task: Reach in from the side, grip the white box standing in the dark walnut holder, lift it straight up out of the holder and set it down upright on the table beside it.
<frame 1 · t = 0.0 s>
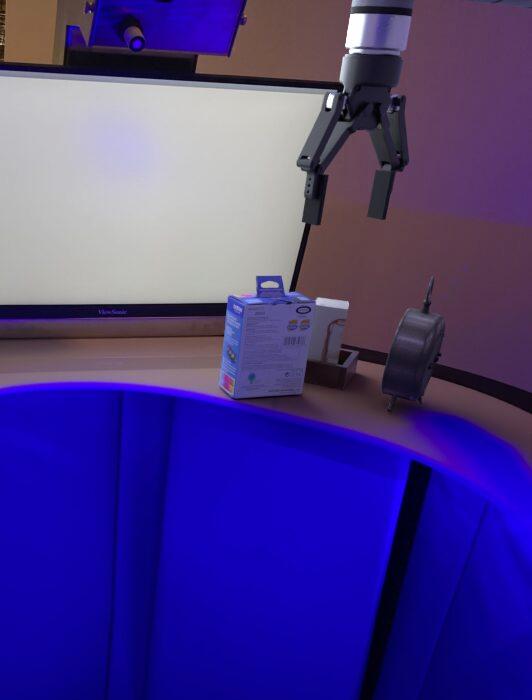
hand: (344, 221, 118), 19 cm above the table, tool pointing down, fingers open, 13 cm apart
white box: (318, 376, 116), resting in holder
ink cartridge box: (259, 391, 109), on the table
holder: (319, 374, 116), on the table
alarm clock: (404, 406, 107), on the table
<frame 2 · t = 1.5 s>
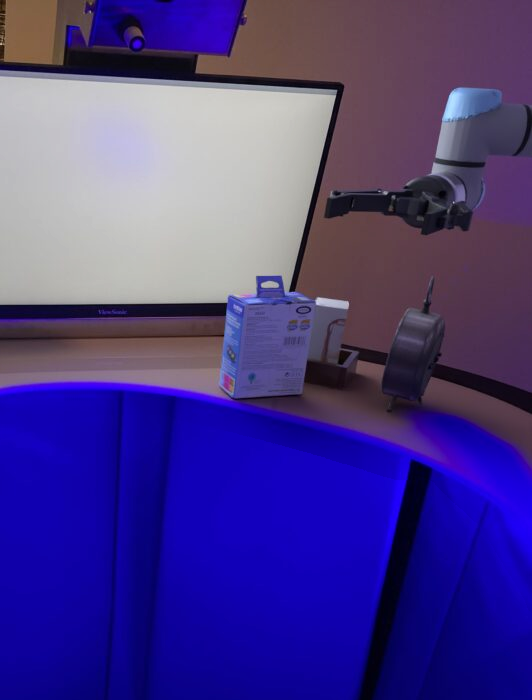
hand: (375, 216, 113), 20 cm above the table, tool horizontal, fingers open, 13 cm apart
nothing on the table moved.
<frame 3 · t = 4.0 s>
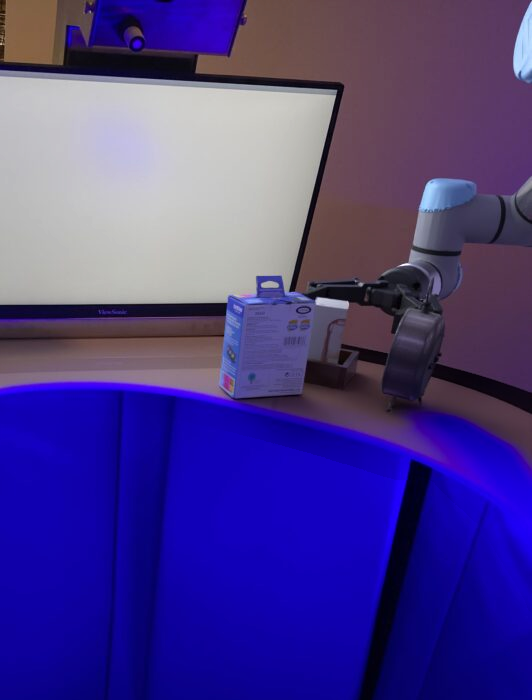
hand: (347, 313, 117), 8 cm above the table, tool horizontal, fingers open, 13 cm apart
nothing on the table moved.
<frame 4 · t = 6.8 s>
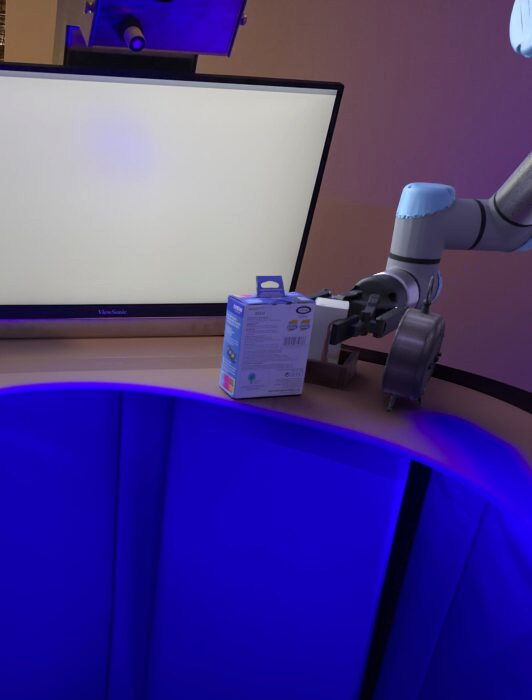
hand: (310, 328, 109), 7 cm above the table, tool horizontal, fingers closed on white box, 6 cm apart
white box: (318, 375, 116), resting in holder, touching gripper
everything else where it was.
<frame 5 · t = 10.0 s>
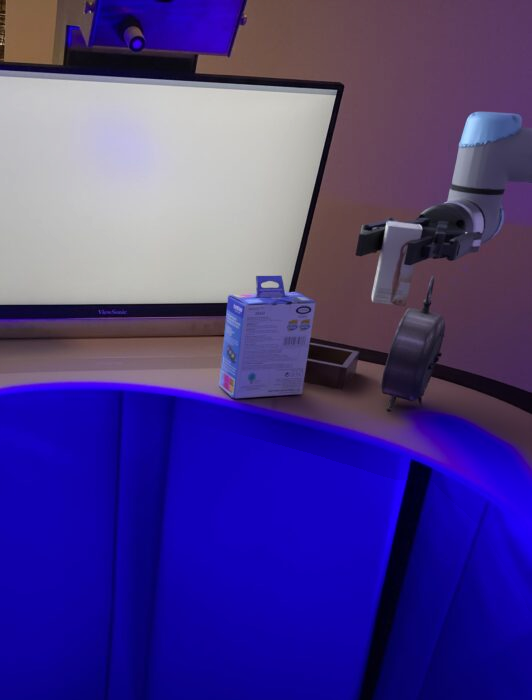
hand: (384, 249, 106), 18 cm above the table, tool horizontal, fingers closed on white box, 6 cm apart
white box: (388, 302, 113), point 10 cm above the table, touching gripper
everything else where it was.
when the fingers open (7 cm above the table, at t = 13.3 s): white box stays where it is, on the table.
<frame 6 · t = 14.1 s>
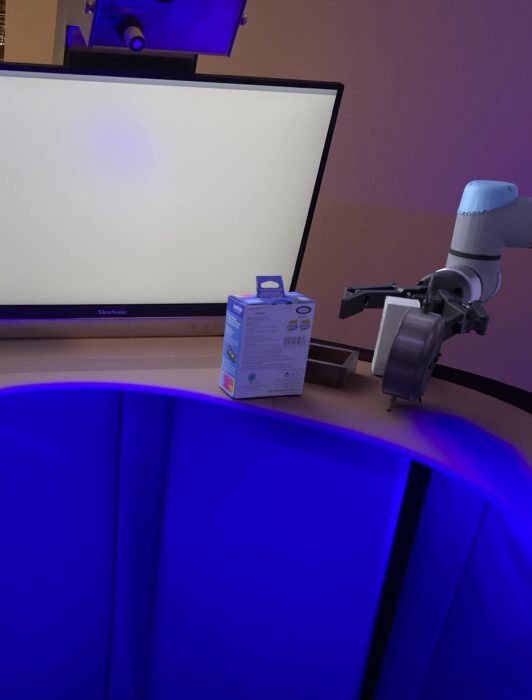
hand: (390, 320, 112), 8 cm above the table, tool horizontal, fingers open, 13 cm apart
white box: (387, 373, 118), on the table
everything else where it was.
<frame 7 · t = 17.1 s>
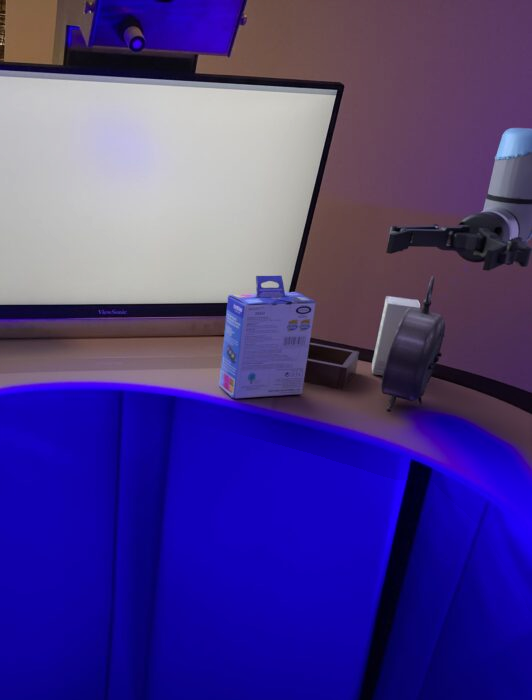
hand: (437, 251, 118), 15 cm above the table, tool horizontal, fingers open, 13 cm apart
nothing on the table moved.
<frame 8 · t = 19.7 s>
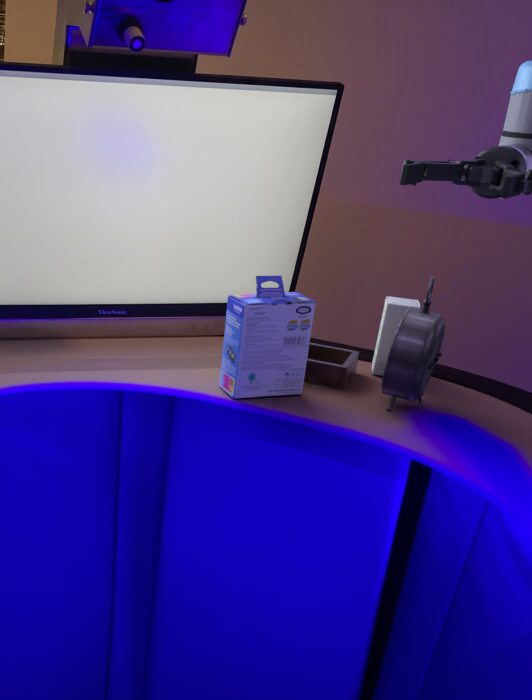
hand: (453, 181, 114), 25 cm above the table, tool horizontal, fingers open, 13 cm apart
nothing on the table moved.
at the end: white box inside the target area (0.1 cm from its centre), on the table; white box tilted 0°; the gripper is holding nothing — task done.
